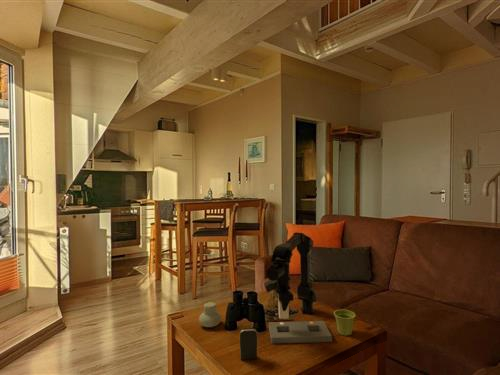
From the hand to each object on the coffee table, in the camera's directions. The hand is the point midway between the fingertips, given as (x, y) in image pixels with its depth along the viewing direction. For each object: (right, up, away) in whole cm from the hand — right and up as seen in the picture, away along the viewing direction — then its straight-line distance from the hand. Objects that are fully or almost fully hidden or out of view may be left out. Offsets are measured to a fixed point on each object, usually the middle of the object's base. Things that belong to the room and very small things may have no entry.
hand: (283, 308), depth 136 cm
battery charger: (-16, -13, -17) cm, 26 cm away
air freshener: (-34, -12, +11) cm, 38 cm away
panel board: (+7, -12, +1) cm, 14 cm away
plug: (0, -4, 0) cm, 4 cm away
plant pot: (+28, -12, +2) cm, 30 cm away
